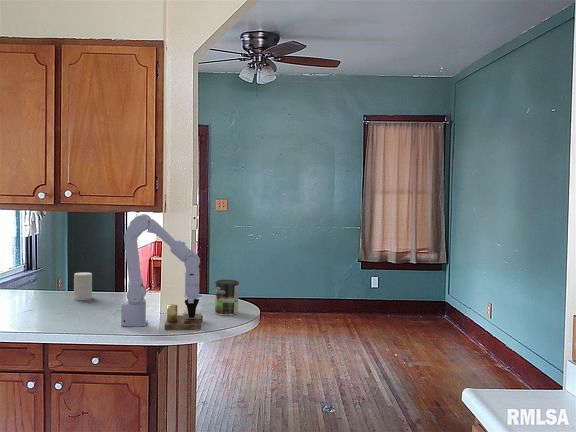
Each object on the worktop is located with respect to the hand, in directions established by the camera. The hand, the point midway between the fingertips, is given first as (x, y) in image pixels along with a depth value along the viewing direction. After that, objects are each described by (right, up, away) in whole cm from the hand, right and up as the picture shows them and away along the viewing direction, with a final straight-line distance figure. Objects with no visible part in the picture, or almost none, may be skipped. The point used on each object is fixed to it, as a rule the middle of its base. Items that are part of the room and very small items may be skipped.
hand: (191, 317), depth 248 cm
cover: (0, 0, +5) cm, 5 cm away
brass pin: (-7, -1, -4) cm, 8 cm away
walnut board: (-3, -3, -1) cm, 4 cm away
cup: (-60, +1, +47) cm, 76 cm away
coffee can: (+12, -2, +22) cm, 25 cm away
